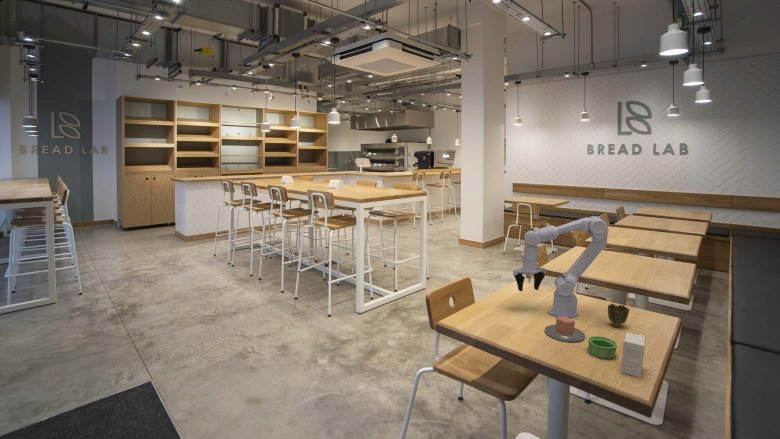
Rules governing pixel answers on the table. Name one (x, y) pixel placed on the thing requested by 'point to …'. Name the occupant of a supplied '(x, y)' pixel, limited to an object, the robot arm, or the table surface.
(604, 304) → the table surface
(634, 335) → the small box
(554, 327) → the plate
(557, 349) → the table surface
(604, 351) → the ramekin
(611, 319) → the cup
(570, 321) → the block
